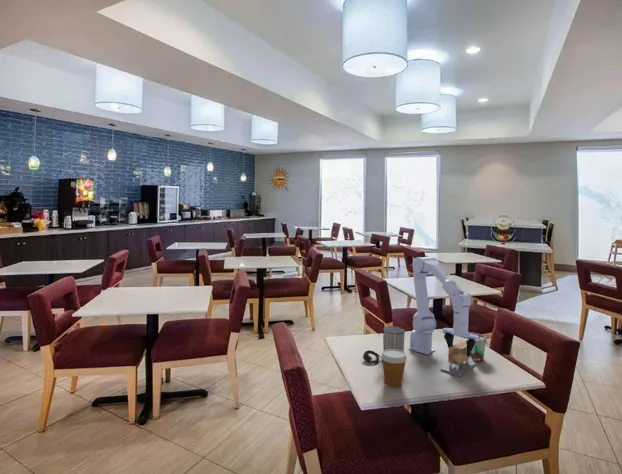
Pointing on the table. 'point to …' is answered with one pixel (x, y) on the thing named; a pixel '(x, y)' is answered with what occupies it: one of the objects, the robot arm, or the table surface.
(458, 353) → the shelf block
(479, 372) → the table surface
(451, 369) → the peg plate
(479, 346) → the food container
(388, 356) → the disposable coffee cup
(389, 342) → the milk frother
